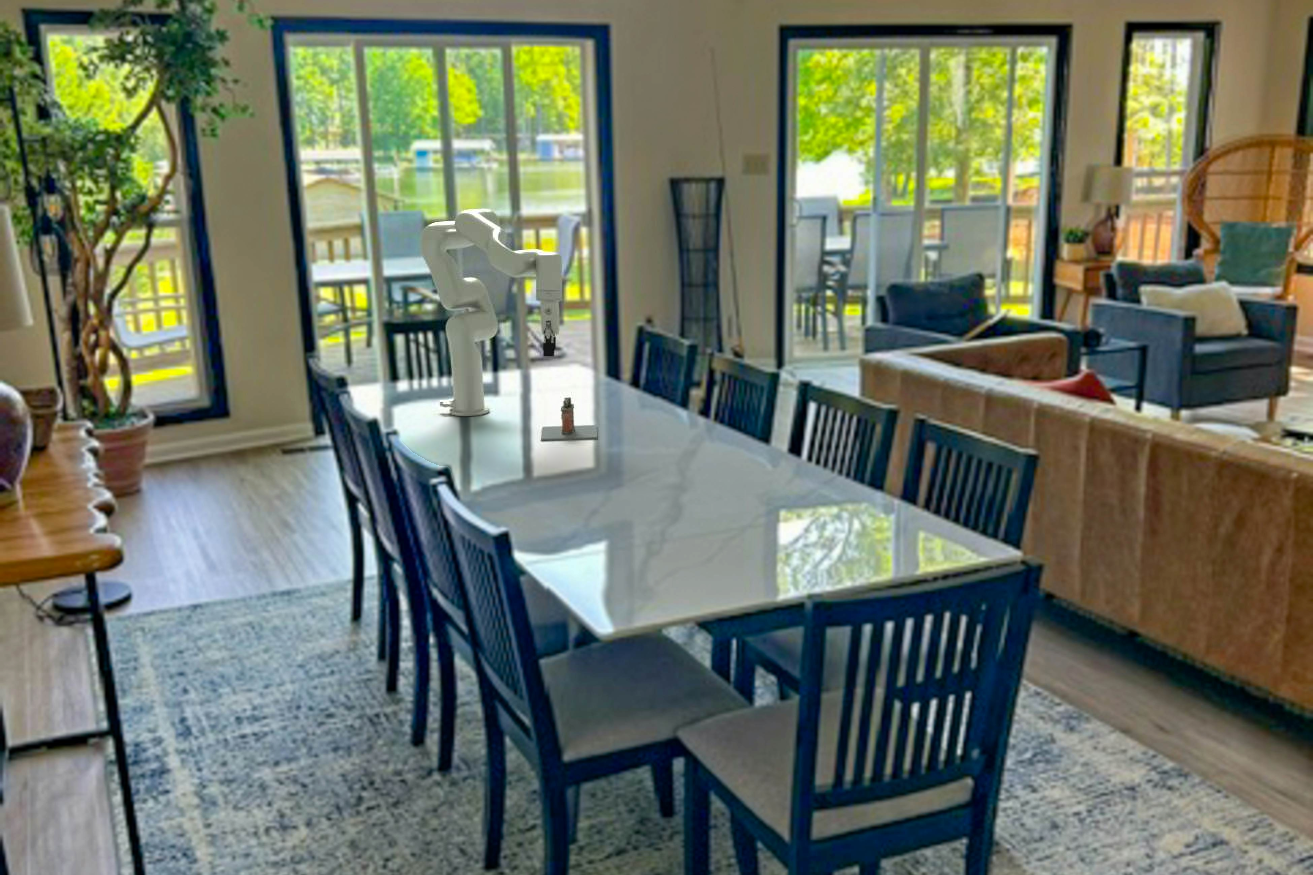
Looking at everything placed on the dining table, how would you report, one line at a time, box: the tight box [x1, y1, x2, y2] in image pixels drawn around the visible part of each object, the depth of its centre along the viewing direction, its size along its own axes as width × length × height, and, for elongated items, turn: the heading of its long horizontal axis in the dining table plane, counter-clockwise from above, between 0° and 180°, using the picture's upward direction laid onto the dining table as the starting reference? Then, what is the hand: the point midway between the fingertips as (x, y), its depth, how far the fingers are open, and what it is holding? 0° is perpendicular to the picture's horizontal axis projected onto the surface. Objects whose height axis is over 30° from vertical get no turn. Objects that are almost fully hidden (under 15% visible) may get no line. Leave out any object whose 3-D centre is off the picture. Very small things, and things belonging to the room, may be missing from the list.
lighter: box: [560, 397, 576, 435], centre depth 328 cm, size 8×3×10 cm, turn 173°
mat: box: [540, 424, 598, 442], centre depth 329 cm, size 16×15×1 cm
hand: (549, 353), depth 334 cm, fingers open, 9 cm apart
